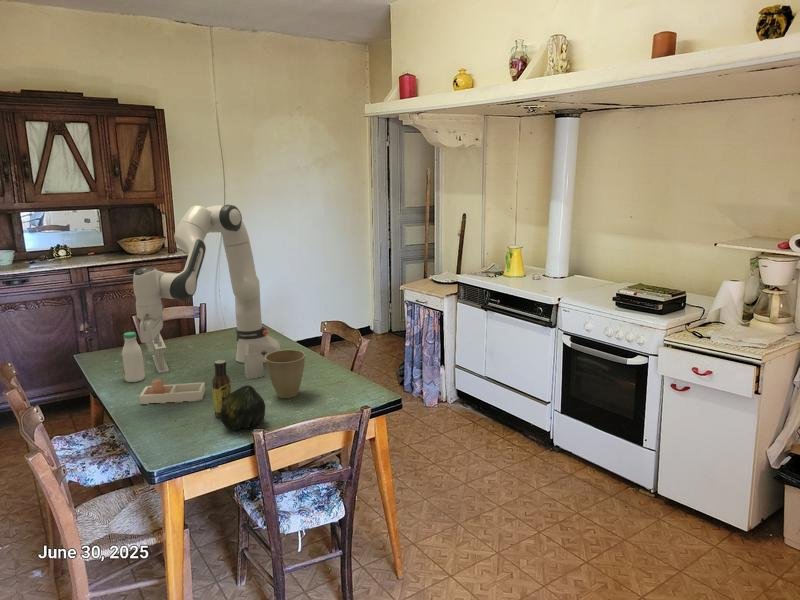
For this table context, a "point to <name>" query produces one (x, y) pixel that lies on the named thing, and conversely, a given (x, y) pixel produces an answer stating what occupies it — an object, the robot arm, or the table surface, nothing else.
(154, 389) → the brown egg
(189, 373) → the table surface
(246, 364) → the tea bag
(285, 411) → the table surface
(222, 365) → the sauce bottle
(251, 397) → the squash
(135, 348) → the milk bottle
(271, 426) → the table surface
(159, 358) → the test tube rack
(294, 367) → the plant pot
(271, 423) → the table surface
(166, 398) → the sorting tray
